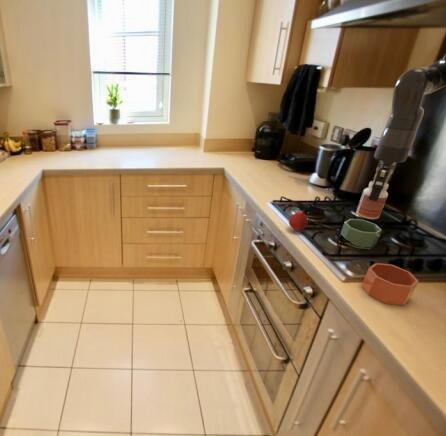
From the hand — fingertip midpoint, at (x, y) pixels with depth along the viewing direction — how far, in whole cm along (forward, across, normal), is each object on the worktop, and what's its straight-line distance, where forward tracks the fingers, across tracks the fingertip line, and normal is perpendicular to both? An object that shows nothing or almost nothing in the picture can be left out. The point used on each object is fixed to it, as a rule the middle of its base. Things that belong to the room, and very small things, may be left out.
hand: (374, 196), depth 99 cm
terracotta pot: (+17, -25, -10) cm, 32 cm away
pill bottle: (+7, 0, 0) cm, 7 cm away
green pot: (+17, 0, 0) cm, 17 cm away
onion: (+17, -5, +18) cm, 25 cm away
